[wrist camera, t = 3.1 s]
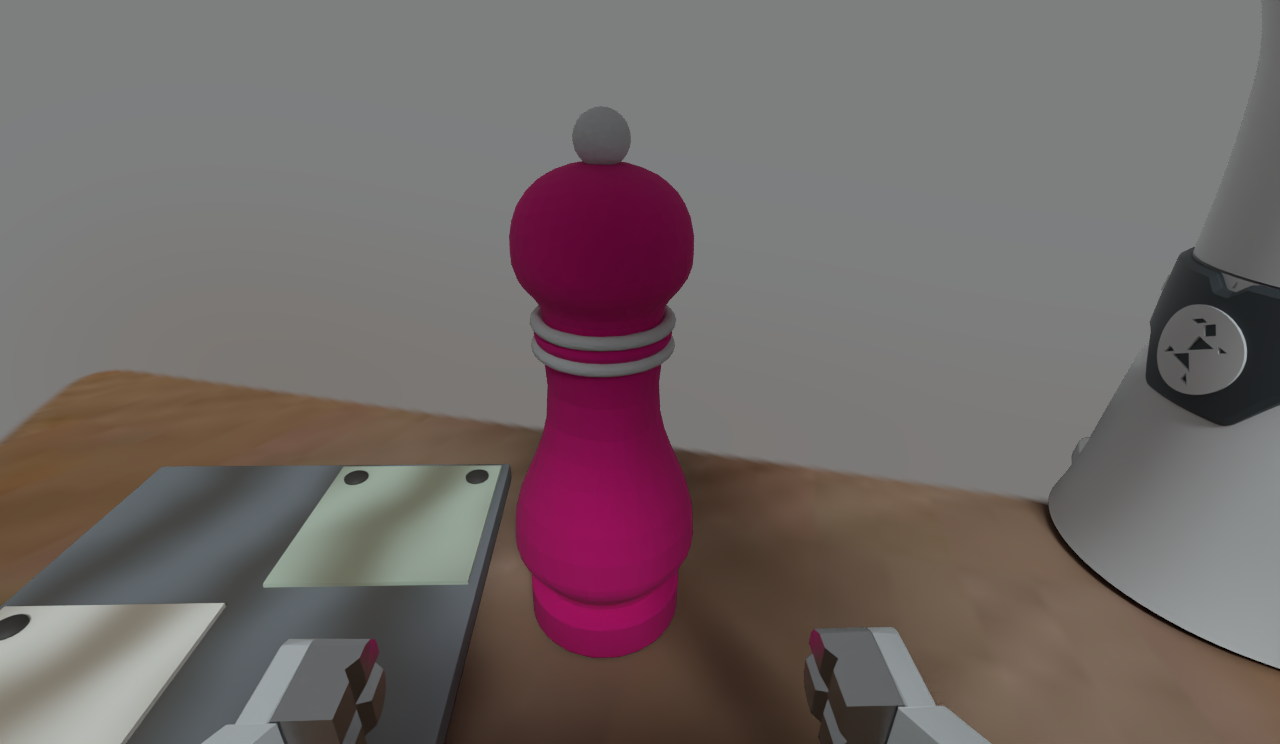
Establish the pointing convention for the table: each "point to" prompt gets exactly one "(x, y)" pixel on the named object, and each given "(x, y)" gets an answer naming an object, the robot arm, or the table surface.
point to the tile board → (250, 599)
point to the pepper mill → (603, 394)
